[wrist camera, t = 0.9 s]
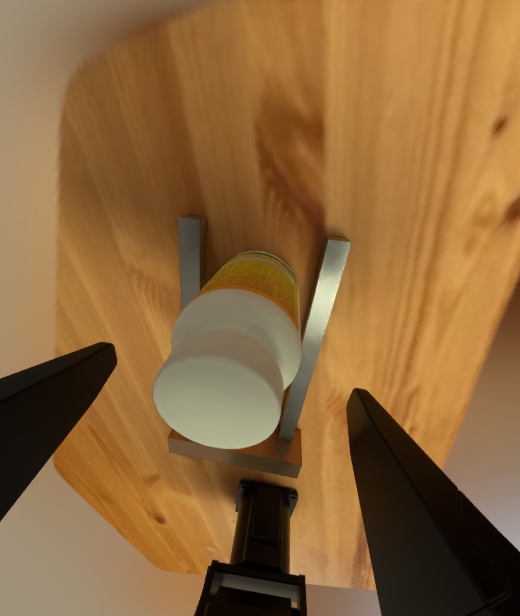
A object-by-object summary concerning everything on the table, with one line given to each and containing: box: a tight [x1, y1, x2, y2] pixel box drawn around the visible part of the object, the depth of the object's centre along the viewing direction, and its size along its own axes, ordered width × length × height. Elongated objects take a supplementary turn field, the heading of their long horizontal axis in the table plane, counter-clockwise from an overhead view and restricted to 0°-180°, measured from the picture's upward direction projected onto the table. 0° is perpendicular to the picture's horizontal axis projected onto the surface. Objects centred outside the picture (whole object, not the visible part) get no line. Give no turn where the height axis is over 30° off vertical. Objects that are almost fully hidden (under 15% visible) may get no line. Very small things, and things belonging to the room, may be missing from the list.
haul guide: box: [168, 215, 351, 478], centre depth 17 cm, size 19×11×3 cm, turn 173°
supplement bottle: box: [153, 251, 302, 449], centre depth 11 cm, size 5×5×10 cm
